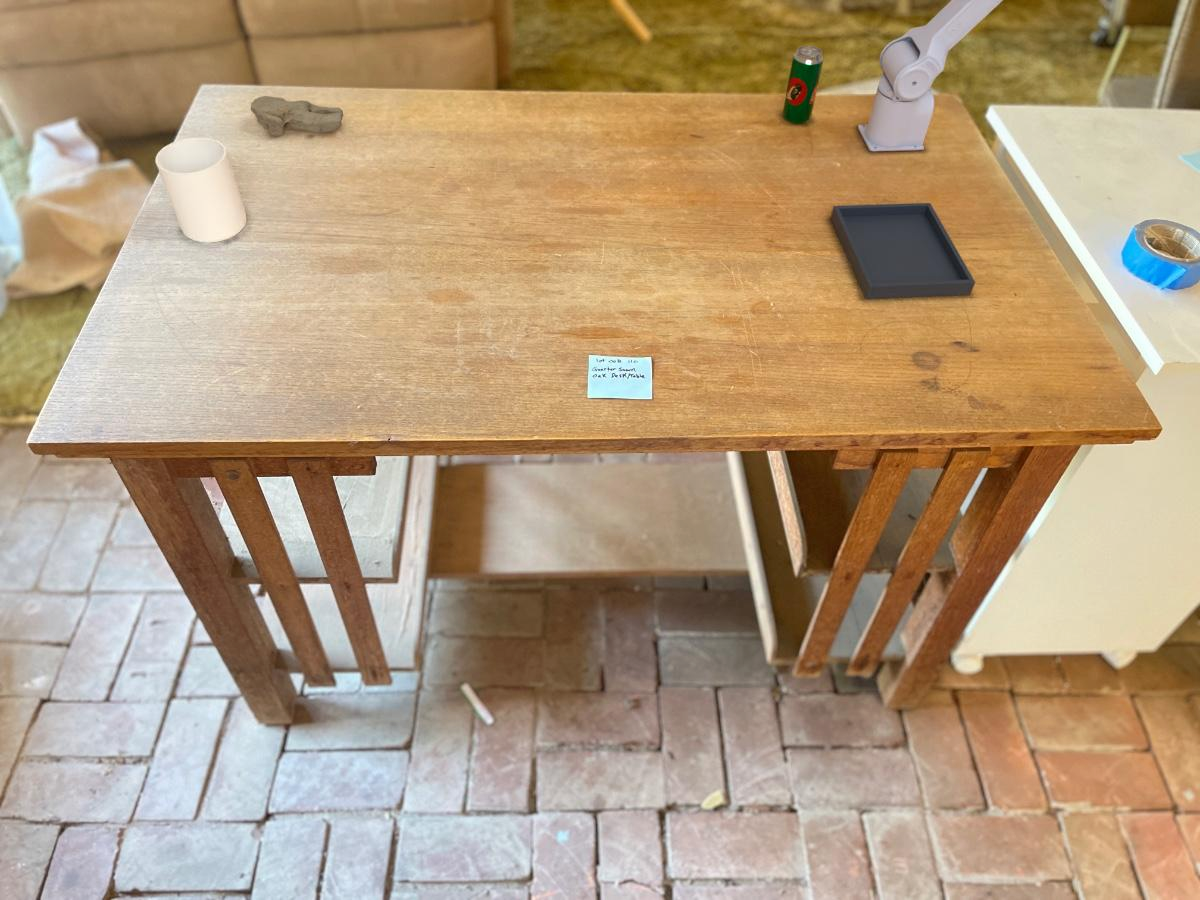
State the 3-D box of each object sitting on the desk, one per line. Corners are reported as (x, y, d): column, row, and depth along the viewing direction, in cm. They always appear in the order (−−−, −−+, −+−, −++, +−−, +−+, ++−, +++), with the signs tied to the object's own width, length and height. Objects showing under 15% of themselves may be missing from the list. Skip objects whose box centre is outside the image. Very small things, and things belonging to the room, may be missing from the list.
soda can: (812, 126, 160) (826, 59, 151) (783, 125, 160) (796, 58, 151) (808, 111, 163) (822, 45, 154) (780, 110, 163) (792, 43, 154)
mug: (176, 246, 133) (149, 175, 124) (190, 199, 141) (165, 129, 132) (244, 243, 134) (221, 172, 125) (253, 196, 142) (233, 126, 133)
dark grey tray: (925, 215, 144) (930, 202, 142) (970, 295, 131) (975, 282, 129) (830, 218, 142) (833, 205, 140) (865, 299, 130) (869, 286, 128)
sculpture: (349, 121, 158) (260, 112, 157) (346, 96, 154) (255, 86, 153) (342, 145, 154) (250, 136, 153) (339, 120, 150) (245, 111, 149)
